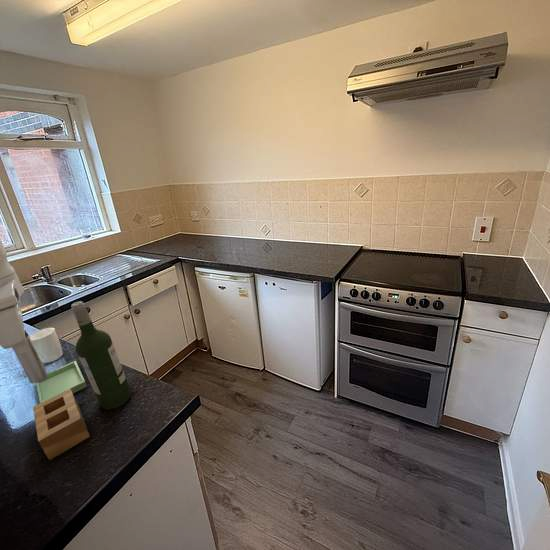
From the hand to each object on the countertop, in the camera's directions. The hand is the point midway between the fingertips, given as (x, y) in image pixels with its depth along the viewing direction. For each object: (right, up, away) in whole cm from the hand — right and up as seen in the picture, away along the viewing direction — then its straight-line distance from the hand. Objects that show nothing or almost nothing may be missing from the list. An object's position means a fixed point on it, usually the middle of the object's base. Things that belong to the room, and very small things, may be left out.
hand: (23, 347), depth 66 cm
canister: (+1, -8, +3) cm, 9 cm away
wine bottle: (+12, -19, +17) cm, 28 cm away
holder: (+3, -23, +9) cm, 25 cm away
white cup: (-24, -14, +41) cm, 50 cm away
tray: (-10, -18, +26) cm, 33 cm away
